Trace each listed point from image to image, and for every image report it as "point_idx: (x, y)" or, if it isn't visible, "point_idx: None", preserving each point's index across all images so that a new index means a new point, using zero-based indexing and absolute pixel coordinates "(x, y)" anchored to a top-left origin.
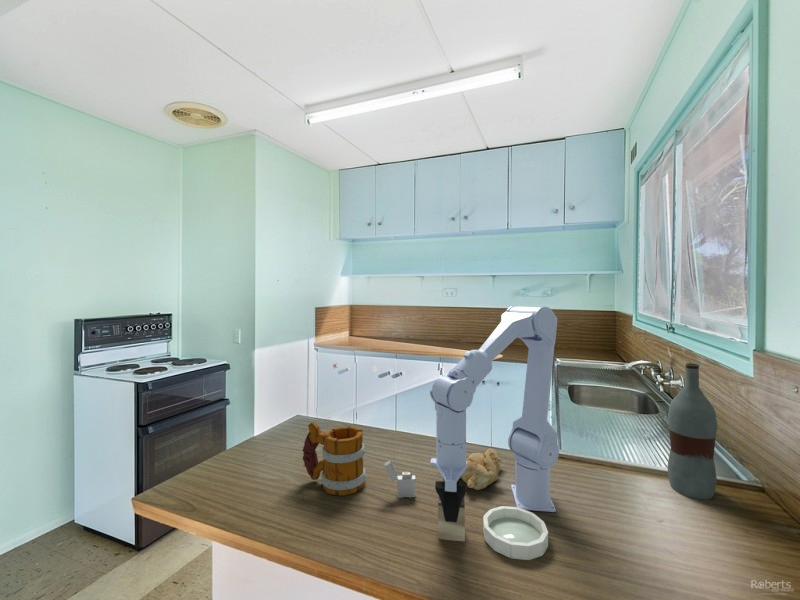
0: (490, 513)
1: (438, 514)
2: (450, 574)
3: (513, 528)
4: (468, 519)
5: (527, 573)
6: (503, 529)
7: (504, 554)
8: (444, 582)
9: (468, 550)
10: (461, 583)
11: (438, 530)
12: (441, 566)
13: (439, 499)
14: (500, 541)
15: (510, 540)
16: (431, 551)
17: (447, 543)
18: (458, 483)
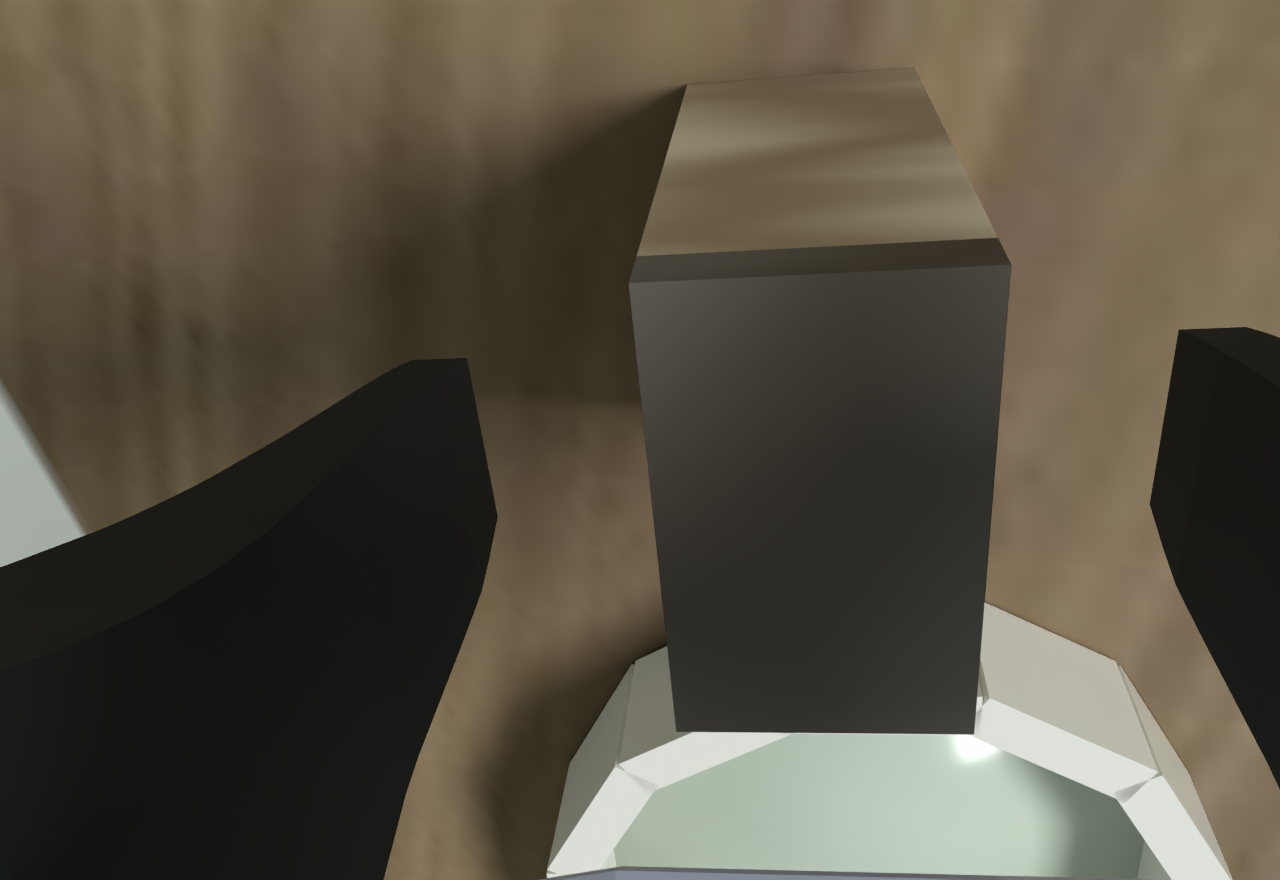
0: (1063, 772)
1: (655, 199)
2: (161, 280)
3: (959, 854)
4: (1156, 445)
5: (439, 837)
6: (930, 780)
7: (592, 733)
8: (33, 229)
9: (569, 443)
10: (104, 384)
11: (682, 115)
12: (226, 176)
13: (775, 298)
14: (590, 794)
15: (761, 812)
16: (418, 20)
17: (624, 213)
18: (1272, 757)
